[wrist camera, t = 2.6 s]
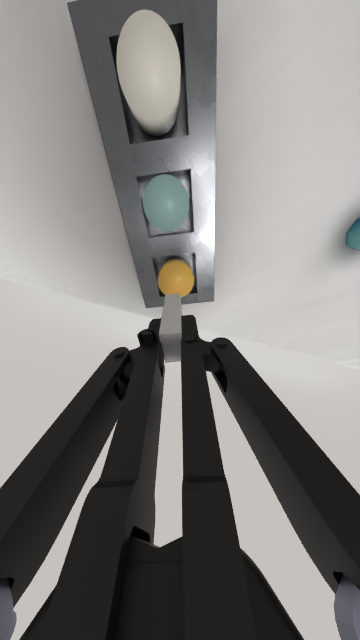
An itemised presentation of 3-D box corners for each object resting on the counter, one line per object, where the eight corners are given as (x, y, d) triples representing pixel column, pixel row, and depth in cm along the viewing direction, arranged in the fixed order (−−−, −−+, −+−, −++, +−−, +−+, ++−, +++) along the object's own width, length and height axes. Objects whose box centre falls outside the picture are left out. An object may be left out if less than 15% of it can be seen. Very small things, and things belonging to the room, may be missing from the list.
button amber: (157, 259, 24) (154, 265, 21) (190, 255, 24) (192, 261, 21) (163, 291, 27) (161, 299, 24) (193, 287, 27) (194, 296, 24)
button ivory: (121, 57, 14) (106, 16, 12) (176, 47, 14) (176, 2, 11) (135, 139, 17) (127, 123, 14) (182, 132, 17) (183, 113, 14)
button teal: (143, 184, 19) (137, 178, 16) (185, 178, 19) (187, 170, 16) (152, 231, 22) (148, 233, 19) (188, 227, 22) (190, 228, 19)
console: (90, 48, 16) (66, 2, 13) (208, 25, 15) (217, -29, 12) (149, 298, 31) (145, 308, 28) (210, 292, 30) (214, 301, 27)
